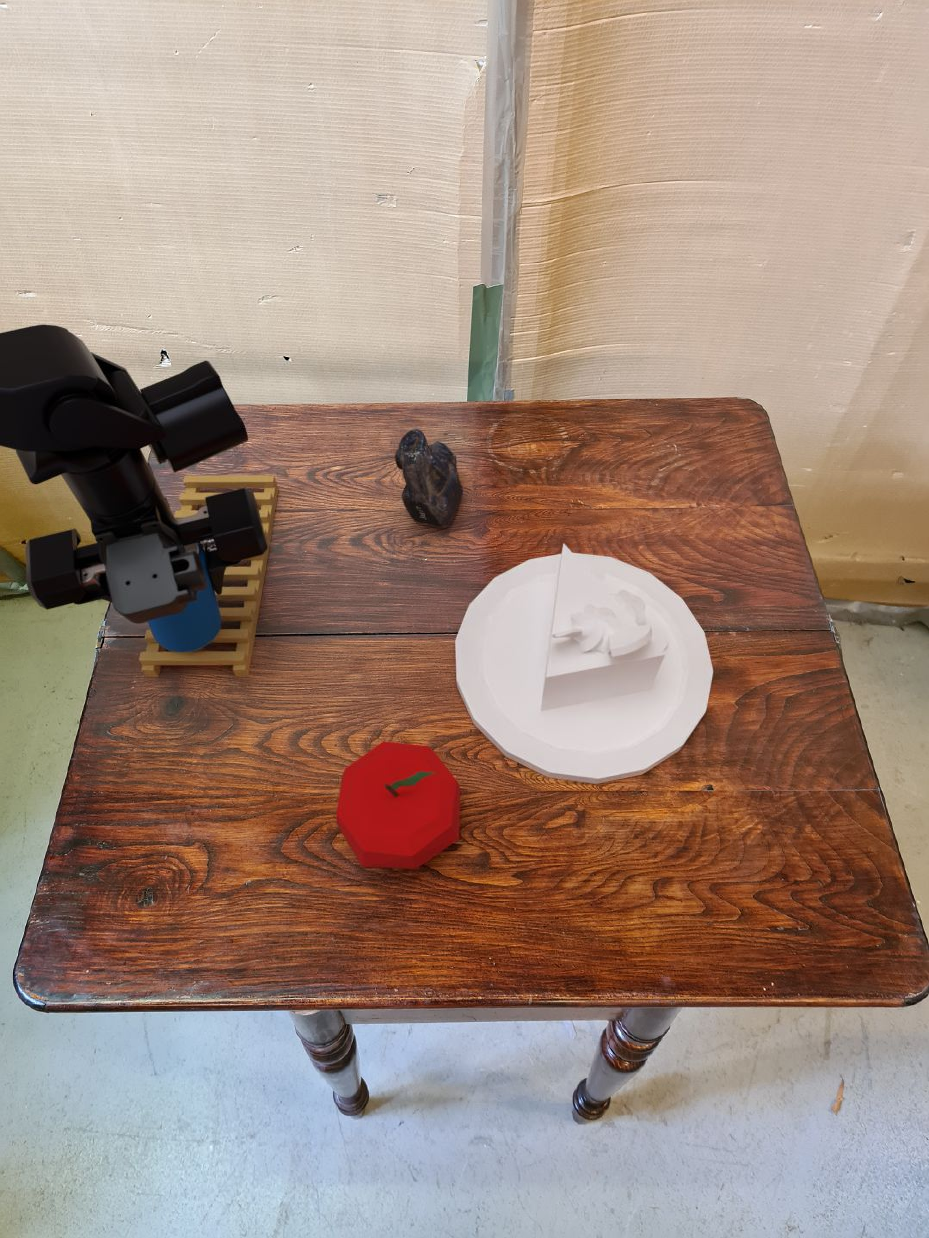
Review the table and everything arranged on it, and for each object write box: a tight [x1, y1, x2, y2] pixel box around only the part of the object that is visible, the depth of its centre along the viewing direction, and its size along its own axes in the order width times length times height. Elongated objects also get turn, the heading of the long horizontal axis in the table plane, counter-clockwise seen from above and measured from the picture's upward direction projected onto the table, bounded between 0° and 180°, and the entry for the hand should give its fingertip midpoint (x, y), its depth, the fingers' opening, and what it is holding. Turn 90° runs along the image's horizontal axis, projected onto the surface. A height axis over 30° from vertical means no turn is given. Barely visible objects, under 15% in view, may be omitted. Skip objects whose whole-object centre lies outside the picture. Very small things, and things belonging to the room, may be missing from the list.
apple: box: [335, 741, 462, 871], centre depth 66 cm, size 11×11×10 cm
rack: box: [138, 474, 280, 678], centre depth 83 cm, size 24×10×2 cm, turn 0°
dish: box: [454, 542, 714, 785], centre depth 73 cm, size 25×25×11 cm
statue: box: [394, 428, 464, 529], centre depth 82 cm, size 6×12×15 cm, turn 161°
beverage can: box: [146, 542, 222, 652], centre depth 72 cm, size 6×6×12 cm
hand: (180, 600), depth 73 cm, fingers closed on beverage can, 7 cm apart
